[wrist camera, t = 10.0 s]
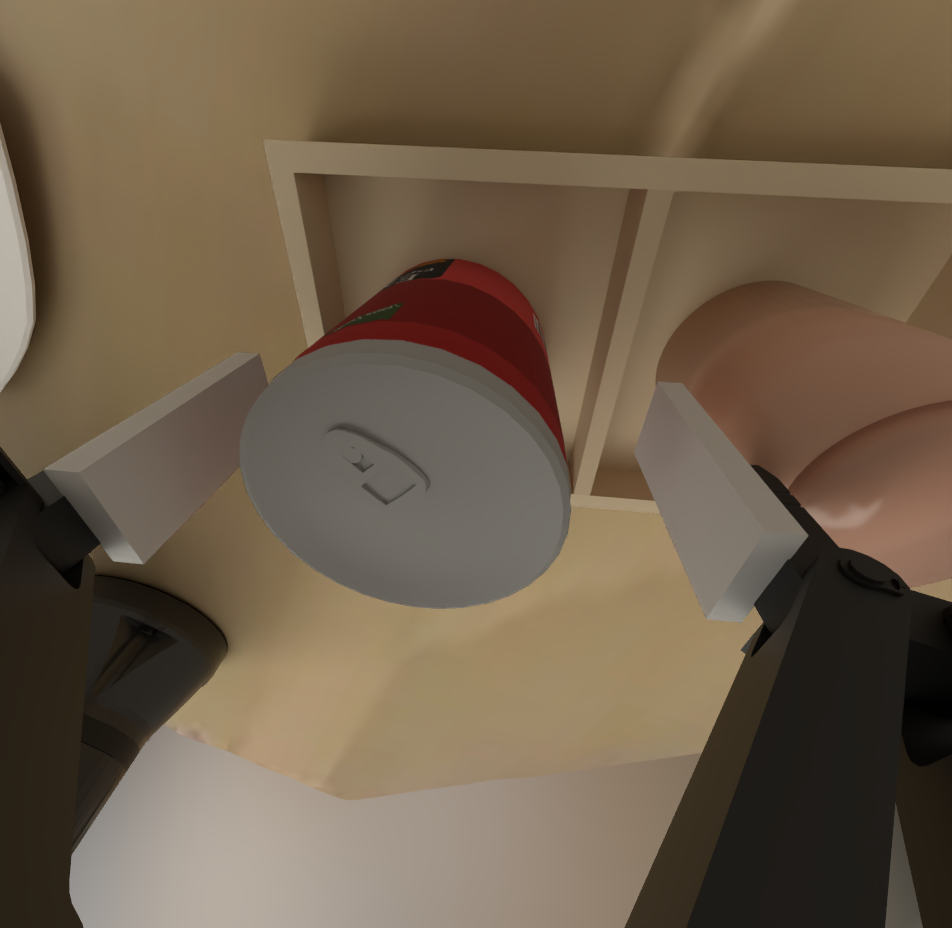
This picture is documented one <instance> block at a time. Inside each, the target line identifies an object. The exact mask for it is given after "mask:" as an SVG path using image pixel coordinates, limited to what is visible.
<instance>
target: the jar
mask: <svg viewBox="0 0 952 928" xmlns="http://www.w3.org/2000/svg"><path fill="white" fill-rule="evenodd" d="M655 380H656V385H657V382H673V383H683V385H684V386H685V387H686V388H687V390H688V391H689V392H690V393H691V394H692V396H693V397H694V398H695V399H696V400H697V402H698V403H699V404H700V405H701V406H702V408H703V409H704V410H705V411H706V412H707V414H708V415H709V416H710V417H711V418H712V420H713V421H714V422H715V423H716V425H717V426H718V427H719V428H720V429H721V431H722V432H723V433H724V434H725V435H726V437H727V438H728V439H729V440H730V441H731V443H732V444H733V445H734V446H735V447H736V449H737V450H738V451H739V452H740V453H741V455H742V456H743V457H744V458H745V459H746V461H747V462H748V463H749V464H750V465H759V466H761V467H762V468H764V469H765V470H767V471H768V472H770V473H771V474H772V475H774V476H775V477H777V478H778V479H779V480H780V481H781V482H782V483H783V484H784V486H785V487H786V488H787V489H788V490H789V491H790V492H791V493H790V495H793V496H794V497H795V498H796V499H797V500H798V501H799V503H800V504H801V507H804V508H805V509H806V510H807V512H808V513H809V514H810V515H811V516H812V517H813V518H814V519H815V521H816V522H817V523H818V524H819V525H820V526H821V527H822V528H823V530H824V531H825V532H826V533H827V534H828V535H829V536H830V537H831V539H832V540H833V541H834V542H835V543H836V544H837V545H838V546H839V548H845V549H851V550H854V551H857V552H860V553H863V554H865V555H868V556H870V557H872V558H874V559H876V560H877V561H879V562H881V563H883V564H885V565H886V566H887V567H889V568H890V569H891V570H893V571H894V572H895V573H897V574H898V575H899V576H900V577H901V578H902V579H903V581H904V582H905V583H906V584H907V585H908V587H909V588H910V587H916V586H921V585H926V584H931V583H935V582H939V581H942V580H946V579H950V578H952V339H949V338H946V337H944V336H941V335H938V334H935V333H932V332H930V331H927V330H924V329H921V328H918V327H916V326H913V325H910V324H907V323H904V322H902V321H899V320H896V319H893V318H890V317H888V316H885V315H882V314H879V313H876V312H874V311H871V310H868V309H865V308H862V307H860V306H857V305H854V304H851V303H848V302H846V301H843V300H840V299H837V298H834V297H832V296H829V295H826V294H823V293H820V292H818V291H815V290H812V289H809V288H806V287H804V286H801V285H798V284H794V283H791V282H785V281H759V282H752V283H748V284H745V285H741V286H738V287H735V288H733V289H730V290H727V291H725V292H723V293H721V294H719V295H717V296H715V297H714V298H712V299H710V300H709V301H707V302H706V303H704V304H703V305H701V306H700V307H699V308H698V309H696V310H695V311H694V312H692V313H691V314H690V315H689V316H688V317H687V318H686V319H685V320H684V321H683V322H682V323H681V324H680V326H679V327H678V328H677V329H676V330H675V332H674V333H673V334H672V336H671V337H670V339H669V340H668V342H667V344H666V346H665V348H664V349H663V352H662V354H661V357H660V359H659V362H658V366H657V370H656V379H655Z"/></svg>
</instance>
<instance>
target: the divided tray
mask: <svg viewBox="0 0 952 928" xmlns="http://www.w3.org/2000/svg"><path fill="white" fill-rule="evenodd" d="M262 140H263V144H264V149H265V153H266V158H267V163H268V167H269V172H270V176H271V181H272V185H273V190H274V195H275V199H276V204H277V208H278V213H279V217H280V222H281V227H282V231H283V236H284V240H285V245H286V249H287V254H288V259H289V263H290V268H291V272H292V277H293V281H294V286H295V291H296V295H297V300H298V304H299V309H300V313H301V318H302V323H303V327H304V332H305V336H306V341H307V345H308V348H309V347H310V346H311V345H313V344H314V343H315V342H316V341H317V340H319V339H320V338H321V337H322V336H324V335H325V334H326V333H328V332H329V331H330V330H331V329H333V328H334V327H335V326H336V325H338V324H339V323H340V322H341V321H343V320H344V319H345V318H347V317H348V316H349V315H350V314H352V313H353V312H354V311H355V310H357V309H358V308H359V307H360V306H362V305H363V304H364V303H366V302H367V301H368V300H369V299H371V298H372V297H373V296H374V295H376V294H377V293H378V292H379V291H381V290H382V289H383V288H384V287H386V286H387V285H388V284H390V283H391V282H392V281H393V280H395V279H396V278H397V277H398V276H400V275H401V274H402V273H403V272H405V271H406V270H408V269H410V268H412V267H415V266H417V265H419V264H421V263H424V262H428V261H433V260H438V259H462V260H466V261H470V262H475V263H479V264H481V265H483V266H486V267H488V268H490V269H492V270H494V271H496V272H498V273H500V274H501V275H502V276H503V277H505V278H506V279H507V280H509V281H510V282H511V283H513V284H514V285H515V286H516V287H517V288H518V289H519V290H520V292H521V293H522V294H523V295H524V296H525V297H526V298H527V299H528V301H529V303H530V305H531V306H532V308H533V310H534V311H535V313H536V315H537V317H538V320H539V322H540V325H541V328H542V331H543V334H544V339H545V344H546V350H547V355H548V360H549V365H550V371H551V376H552V381H553V386H554V391H555V397H556V402H557V407H558V412H559V417H560V423H561V428H562V433H563V438H564V445H565V452H566V460H567V466H568V473H569V480H570V488H571V498H570V505H571V506H575V507H586V508H598V509H610V510H621V511H633V512H645V513H656V514H660V512H659V509H658V507H657V505H656V502H655V500H654V498H653V496H652V493H651V491H650V489H649V486H648V484H647V482H646V479H645V477H644V475H643V473H642V470H641V468H640V466H639V463H638V461H637V459H636V456H635V454H634V451H635V448H636V445H637V442H638V439H639V436H640V433H641V430H642V427H643V424H644V421H645V418H646V415H647V412H648V409H649V406H650V403H651V400H652V397H653V394H654V391H655V388H656V380H655V379H656V370H657V366H658V362H659V359H660V357H661V354H662V352H663V349H664V348H665V346H666V344H667V342H668V340H669V339H670V337H671V336H672V334H673V333H674V332H675V330H676V329H677V328H678V327H679V326H680V324H681V323H682V322H683V321H684V320H685V319H686V318H687V317H688V316H689V315H690V314H691V313H692V312H694V311H695V310H696V309H698V308H699V307H700V306H701V305H703V304H704V303H706V302H707V301H709V300H710V299H712V298H714V297H715V296H717V295H719V294H721V293H723V292H725V291H727V290H730V289H733V288H735V287H738V286H741V285H745V284H748V283H752V282H759V281H785V282H791V283H794V284H798V285H801V286H804V287H806V288H809V289H812V290H815V291H818V292H820V293H823V294H826V295H829V296H832V297H834V298H837V299H840V300H843V301H846V302H848V303H851V304H854V305H857V306H860V307H862V308H865V309H868V310H871V311H874V312H876V313H879V314H882V315H885V316H888V317H890V318H893V319H896V320H899V321H902V322H904V323H907V324H910V325H913V326H916V327H918V328H921V329H924V330H927V331H930V332H932V333H935V334H938V335H941V336H944V337H946V338H949V339H952V169H932V168H909V167H886V166H863V165H840V164H817V163H794V162H771V161H748V160H725V159H702V158H679V157H657V156H634V155H611V154H588V153H565V152H542V151H519V150H496V149H473V148H450V147H427V146H404V145H381V144H358V143H335V142H312V141H289V140H266V139H262Z"/></svg>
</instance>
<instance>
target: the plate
mask: <svg viewBox="0 0 952 928" xmlns="http://www.w3.org/2000/svg"><path fill="white" fill-rule="evenodd" d="M35 321H36V303H35V281H34V274H33V267H32V260H31V253H30V246H29V240H28V235H27V230H26V226H25V221H24V217H23V212H22V208H21V203H20V199H19V194H18V190H17V185H16V181H15V177H14V173H13V169H12V165H11V161H10V158H9V154H8V150H7V146H6V142H5V139H4V135H3V131H2V127H1V123H0V393H1V391H2V390H3V389H4V387H5V386H6V385H7V383H8V382H9V380H10V379H11V378H12V376H13V375H14V373H15V372H16V371H17V369H18V367H19V365H20V363H21V361H22V359H23V357H24V355H25V353H26V351H27V349H28V347H29V343H30V340H31V336H32V332H33V329H34V325H35Z"/></svg>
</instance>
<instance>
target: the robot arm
mask: <svg viewBox="0 0 952 928" xmlns="http://www.w3.org/2000/svg"><path fill="white" fill-rule="evenodd" d="M268 385H269V384H268V381H267V378H266V374H265V371H264V367H263V364H262V361H261V357H260V354H258V353H244V352H237V353H235V354H233V355H232V356H230V357H228V358H227V359H225V360H223V361H222V362H220V363H218V364H217V365H215V366H213V367H212V368H210V369H208V370H207V371H205V372H203V373H202V374H200V375H198V376H197V377H195V378H193V379H192V380H190V381H188V382H187V383H185V384H183V385H182V386H180V387H178V388H177V389H175V390H173V391H172V392H170V393H168V394H167V395H165V396H163V397H162V398H160V399H158V400H157V401H155V402H153V403H152V404H150V405H148V406H147V407H145V408H143V409H142V410H140V411H138V412H137V413H135V414H133V415H132V416H130V417H128V418H127V419H125V420H123V421H122V422H120V423H118V424H117V425H115V426H113V427H112V428H110V429H108V430H107V431H105V432H103V433H102V434H100V435H98V436H97V437H95V438H93V439H92V440H90V441H89V442H87V443H85V444H84V445H82V446H80V447H79V448H77V449H75V450H74V451H72V452H70V453H69V454H67V455H65V456H64V457H62V458H60V459H59V460H57V461H55V462H54V463H52V464H50V465H49V466H47V467H45V468H44V469H43V471H41V472H40V473H38V474H36V475H35V476H33V477H31V478H30V479H28V480H27V479H26V478H25V476H24V475H23V474H22V473H21V472H20V470H19V469H18V468H17V467H16V465H15V464H14V463H13V462H12V461H11V459H10V458H9V457H8V456H7V454H6V453H5V452H4V451H3V449H2V448H1V447H0V928H83V924H82V922H81V920H80V918H79V916H78V914H77V913H76V911H75V909H74V907H73V905H72V903H71V898H70V893H69V877H70V866H71V855H72V853H73V852H74V851H75V849H76V848H77V846H78V845H79V843H80V842H81V840H82V838H83V837H84V835H85V834H86V832H87V831H88V829H89V828H90V826H91V825H92V823H93V821H94V820H95V819H96V817H97V816H98V814H99V813H100V811H101V810H102V808H103V807H104V805H105V803H106V802H107V800H108V799H109V797H110V796H111V794H112V793H113V791H114V790H115V788H116V787H117V785H118V784H119V782H120V781H121V779H122V778H123V776H124V775H125V773H126V771H127V770H128V768H129V767H130V765H131V764H132V762H133V761H134V759H135V758H136V756H137V755H138V753H139V752H140V750H141V749H142V747H143V746H144V745H145V743H146V742H147V741H148V739H149V738H150V737H151V736H152V735H153V734H154V733H155V732H156V731H157V730H158V729H159V728H160V727H161V726H162V725H163V724H165V723H166V722H167V721H168V720H169V719H170V718H171V717H172V716H173V715H174V714H175V713H176V712H177V711H178V710H179V709H180V708H181V707H182V706H183V705H184V704H185V703H186V702H187V701H188V700H189V699H190V698H191V697H192V696H193V695H194V694H195V693H196V692H197V691H198V690H199V689H200V688H201V687H202V686H204V685H205V684H206V683H207V682H208V681H209V680H210V679H211V678H212V676H213V675H214V673H215V672H216V670H217V668H218V667H219V665H220V664H221V662H222V660H223V659H224V657H225V655H226V652H227V646H226V643H225V640H224V638H223V636H222V635H221V633H220V632H219V631H218V629H217V628H216V627H215V626H214V625H213V624H212V623H211V622H210V621H209V620H207V619H206V618H205V617H204V616H202V615H201V614H200V613H198V612H197V611H196V610H194V609H193V608H191V607H189V606H188V605H186V604H184V603H183V602H181V601H179V600H177V599H175V598H173V597H171V596H169V595H167V594H164V593H162V592H160V591H157V590H155V589H152V588H149V587H147V586H144V585H141V584H137V583H134V582H130V581H126V580H122V579H117V578H111V577H104V576H95V565H94V562H93V560H92V559H91V558H90V556H89V555H88V554H89V553H90V552H91V551H92V550H93V549H94V548H96V547H97V546H98V545H99V544H100V545H101V546H102V547H103V549H104V550H105V551H106V553H107V554H108V555H109V556H110V558H111V559H112V560H113V561H115V562H125V563H135V564H145V563H146V562H147V561H148V560H149V559H150V558H151V556H152V555H153V554H154V553H155V552H156V551H157V550H158V549H159V548H160V547H161V546H162V545H163V544H164V543H165V542H166V541H167V540H168V539H169V538H170V537H171V536H172V535H173V534H174V533H175V532H176V531H177V530H178V529H179V528H180V527H181V526H182V525H183V524H184V523H185V522H186V521H187V520H188V519H189V518H190V517H191V516H192V515H193V514H194V513H195V512H196V511H197V510H198V509H199V508H200V507H201V506H202V504H203V503H204V502H205V501H206V500H207V499H208V498H209V497H210V496H211V495H212V494H213V493H214V492H215V491H216V490H217V489H218V488H219V487H220V486H221V485H222V484H223V483H224V482H225V481H226V480H227V479H228V478H229V477H230V476H231V475H232V474H233V473H234V472H235V471H236V470H237V469H238V468H239V467H240V437H241V433H242V430H243V426H244V423H245V419H246V416H247V414H248V412H249V411H250V409H251V408H252V406H253V405H254V403H255V402H256V400H257V399H258V397H259V396H260V394H261V393H262V392H263V391H264V390H265V389H266V388H267V387H268ZM634 454H635V456H636V459H637V461H638V463H639V466H640V468H641V470H642V473H643V475H644V477H645V479H646V482H647V484H648V486H649V489H650V491H651V493H652V496H653V498H654V500H655V502H656V505H657V507H658V509H659V512H660V514H661V516H662V519H663V521H664V523H665V525H666V528H667V530H668V532H669V535H670V537H671V539H672V542H673V544H674V546H675V548H676V551H677V553H678V555H679V558H680V560H681V562H682V565H683V567H684V569H685V571H686V574H687V576H688V578H689V581H690V583H691V585H692V588H693V590H694V592H695V594H696V597H697V599H698V601H699V604H700V606H701V608H702V611H703V613H704V615H705V617H706V619H710V620H720V621H731V622H741V623H742V621H743V620H744V619H745V617H746V616H747V615H748V613H749V612H750V611H751V610H752V608H753V607H754V606H755V607H756V609H757V611H758V613H759V615H760V616H761V618H762V620H763V623H762V625H761V626H760V627H759V628H758V629H757V631H756V632H755V633H754V634H753V636H752V637H751V638H750V639H749V640H748V642H747V643H746V644H745V645H744V646H743V648H742V649H741V651H742V652H744V653H745V654H746V655H745V657H744V660H743V662H742V664H741V666H740V669H739V671H738V673H737V675H736V678H735V680H734V682H733V684H732V687H731V689H730V691H729V693H728V696H727V698H726V700H725V702H724V705H723V707H722V709H721V711H720V714H719V716H718V718H717V720H716V723H715V725H714V727H713V729H712V732H711V734H710V736H709V738H708V741H707V743H706V745H705V747H704V750H703V752H702V754H701V756H700V759H699V761H698V763H697V765H696V768H695V770H694V772H693V775H692V777H691V779H690V781H689V784H688V786H687V788H686V790H685V793H684V795H683V797H682V799H681V802H680V804H679V806H678V808H677V811H676V813H675V815H674V817H673V820H672V822H671V824H670V826H669V829H668V831H667V833H666V836H665V838H664V840H663V842H662V844H661V847H660V849H659V852H658V854H657V856H656V858H655V860H654V863H653V865H652V867H651V869H650V871H649V874H648V876H647V878H646V881H645V883H644V885H643V887H642V890H641V892H640V894H639V896H638V899H637V901H636V903H635V905H634V908H633V910H632V912H631V914H630V917H629V919H628V921H627V923H626V926H625V928H885V920H886V907H887V896H888V884H889V872H890V860H891V848H892V836H893V824H894V810H895V801H896V805H897V810H898V815H899V819H900V823H901V828H902V833H903V837H904V842H905V846H906V851H907V856H908V861H909V865H910V869H911V874H912V879H913V884H914V888H915V893H916V897H917V902H918V906H919V911H920V916H921V920H922V925H923V928H952V602H949V601H946V600H942V599H939V598H936V597H932V596H929V595H926V594H922V593H919V592H916V591H912V590H910V588H909V587H908V585H907V584H906V583H905V582H904V581H903V579H902V578H901V577H900V576H899V575H898V574H897V573H895V572H894V571H893V570H891V569H890V568H889V567H887V566H886V565H885V564H883V563H881V562H879V561H877V560H876V559H874V558H872V557H870V556H868V555H865V554H863V553H860V552H857V551H854V550H851V549H845V548H839V546H838V545H837V544H836V543H835V542H834V541H833V540H832V539H831V537H830V536H829V535H828V534H827V533H826V532H825V531H824V530H823V528H822V527H821V526H820V525H819V524H818V523H817V522H816V521H815V519H814V518H813V517H812V516H811V515H810V514H809V513H808V512H807V510H806V509H805V508H804V507H801V504H800V503H799V501H798V500H797V499H796V498H795V497H794V496H793V495H790V493H791V492H790V491H789V490H788V489H787V488H786V487H785V486H784V484H783V483H782V482H781V481H780V480H779V479H778V478H777V477H775V476H774V475H772V474H771V473H770V472H768V471H767V470H765V469H764V468H762V467H761V466H759V465H750V464H749V463H748V462H747V461H746V459H745V458H744V457H743V456H742V455H741V453H740V452H739V451H738V450H737V449H736V447H735V446H734V445H733V444H732V443H731V441H730V440H729V439H728V438H727V437H726V435H725V434H724V433H723V432H722V431H721V429H720V428H719V427H718V426H717V425H716V423H715V422H714V421H713V420H712V418H711V417H710V416H709V415H708V414H707V412H706V411H705V410H704V409H703V408H702V406H701V405H700V404H699V403H698V402H697V400H696V399H695V398H694V397H693V396H692V394H691V393H690V392H689V391H688V390H687V388H686V387H685V386H684V385H683V383H673V382H657V385H656V388H655V391H654V394H653V397H652V400H651V403H650V406H649V409H648V412H647V415H646V418H645V421H644V424H643V427H642V430H641V433H640V436H639V439H638V442H637V445H636V448H635V451H634Z"/></svg>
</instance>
